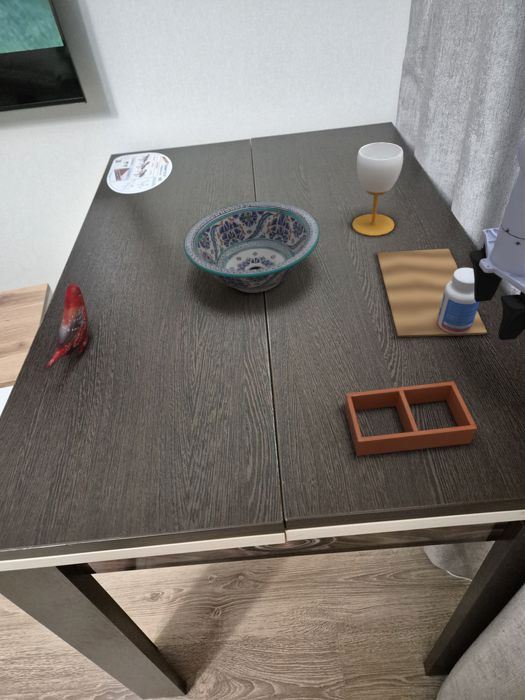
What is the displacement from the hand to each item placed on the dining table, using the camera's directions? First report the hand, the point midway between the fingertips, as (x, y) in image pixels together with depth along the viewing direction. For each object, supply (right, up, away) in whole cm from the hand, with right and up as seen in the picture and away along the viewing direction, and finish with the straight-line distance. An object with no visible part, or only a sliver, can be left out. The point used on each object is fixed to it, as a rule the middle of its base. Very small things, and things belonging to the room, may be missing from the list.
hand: (494, 317), depth 58 cm
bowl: (-32, +10, +29) cm, 44 cm away
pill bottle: (+1, 0, +14) cm, 14 cm away
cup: (-7, +23, +38) cm, 45 cm away
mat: (-1, +7, +21) cm, 22 cm away
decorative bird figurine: (-63, -5, +18) cm, 65 cm away
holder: (-11, -15, +2) cm, 19 cm away
